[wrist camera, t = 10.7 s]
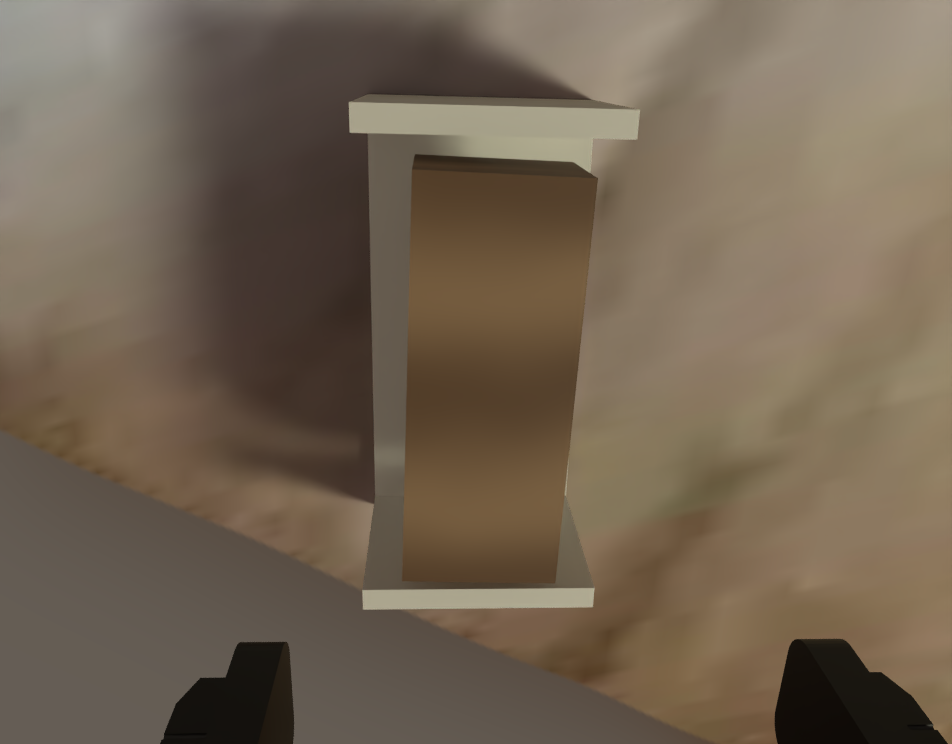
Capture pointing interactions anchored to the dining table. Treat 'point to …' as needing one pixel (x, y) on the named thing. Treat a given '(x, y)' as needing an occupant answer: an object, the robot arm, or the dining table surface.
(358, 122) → the shelf frame
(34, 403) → the dining table surface
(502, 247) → the brown rectangular block
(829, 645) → the robot arm
